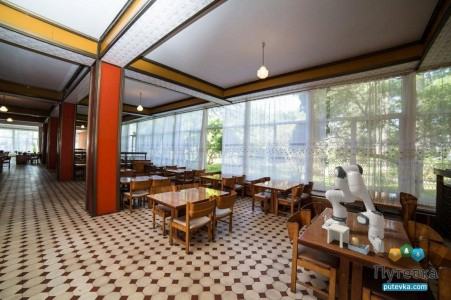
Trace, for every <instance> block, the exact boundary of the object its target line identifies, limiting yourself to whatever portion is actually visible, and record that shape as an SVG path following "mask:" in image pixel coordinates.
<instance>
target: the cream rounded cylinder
mask: <svg viewBox="0 0 451 300" xmlns="http://www.w3.org/2000/svg"><path fill="white" fill-rule="evenodd" d="M359 241H360V239H359V238H358V237H355V236H352V237H351V242H352V246H355V247H358V248H359V244H360V242H359Z"/></svg>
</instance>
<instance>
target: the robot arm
mask: <svg viewBox="0 0 451 300" xmlns="http://www.w3.org/2000/svg"><path fill="white" fill-rule="evenodd" d="M363 169H364V168H363V167H362V166H361V165H360V164H345V165H344V164H343V165H338V166H335V168H334V171H333V172H334V175H335V178H334V179H335V180H334V186H335V188H336V189H328V190H326V191H325V194H324V195H325V196H324V197H325V198H326V200H327V201H329V202H330V204H331V206H332V208H333V209H332V210H333V211H332V212H333V213H332V214H331V215H330V218H328V219H327V220H325V221H324V224H322V225H321V228H322V229H325V230H327V231H328V227H329V226H330V225H332V224H338V225H342V226H345V227H348V225H347V223H348V217H347V215H348V214H347V212H348V211H347V208H346V207H345V206H344V205H342V204H340V203H347V204H349V203H355V202H356V199H357V198H359V199H361V200H362V201H363V203H364V206H365V209H366V211H363V212H357V213H356V215H355V219H356V220H355V221H356V222H357V224H359V225H361V226H364V227H365V226H366V227H367V232H368V233H367V234H368V241H369V242H370V243H371V244H372V248H373V252H374V253H375V254H378V253H384V252H385V243H384V242H385V241H384V240H382V239H384V238H385V230H384V228H385V218H384V215H383V213H382V212H380V211H378V210H377V209H376V206H375V204H374V203H375V202H374V201H373V198H372V196H371V194H370V192H369V191H368V189H367V186H366V183H365V180H364V178H363V174H364V170H363Z"/></svg>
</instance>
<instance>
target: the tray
mask: <svg viewBox="0 0 451 300" xmlns="http://www.w3.org/2000/svg"><path fill="white" fill-rule="evenodd" d="M370 247H371V246H370V244H367V245H364V244H361V243H359V248H358V247H355V246H352V241H349V244H348V243H347V249H349V250H351V251H354V252H356V253H360V254H363V255H365V256H367V255H368V254H369V252H370Z"/></svg>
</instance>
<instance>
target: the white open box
mask: <svg viewBox="0 0 451 300" xmlns="http://www.w3.org/2000/svg"><path fill="white" fill-rule="evenodd" d="M334 240H336V241H339V248H341V249H343V247H344V245H343V243H345V244H347V245H348V244H349V243H350V227H348V226H347V227H345V226H342V225H338V224H332V225H330V226H329V227H328V230H327V241H326V242H327V244H331V242H333V241H334Z"/></svg>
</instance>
